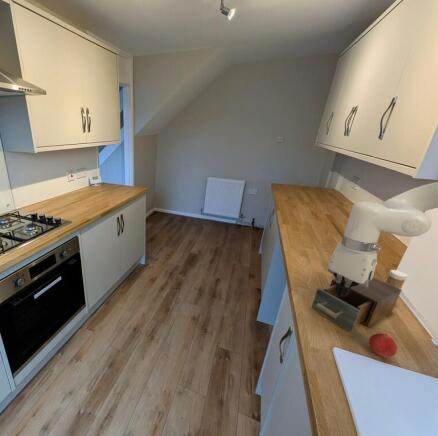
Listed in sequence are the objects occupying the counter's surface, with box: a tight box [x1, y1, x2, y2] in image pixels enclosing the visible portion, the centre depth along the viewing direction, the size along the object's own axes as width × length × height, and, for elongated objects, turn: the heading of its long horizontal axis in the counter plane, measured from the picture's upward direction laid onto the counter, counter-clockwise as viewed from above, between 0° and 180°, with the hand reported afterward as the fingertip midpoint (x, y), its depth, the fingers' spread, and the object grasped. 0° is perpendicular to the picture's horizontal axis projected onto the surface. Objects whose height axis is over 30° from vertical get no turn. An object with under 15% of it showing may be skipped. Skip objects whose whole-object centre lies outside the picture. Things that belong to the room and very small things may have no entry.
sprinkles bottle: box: [385, 269, 408, 290], centre depth 90 cm, size 5×5×14 cm
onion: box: [368, 333, 398, 358], centre depth 69 cm, size 6×6×8 cm
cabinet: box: [329, 277, 402, 328], centre depth 87 cm, size 16×14×10 cm
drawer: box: [311, 284, 374, 333], centre depth 82 cm, size 19×13×8 cm, turn 115°
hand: (341, 294), depth 77 cm, fingers closed
